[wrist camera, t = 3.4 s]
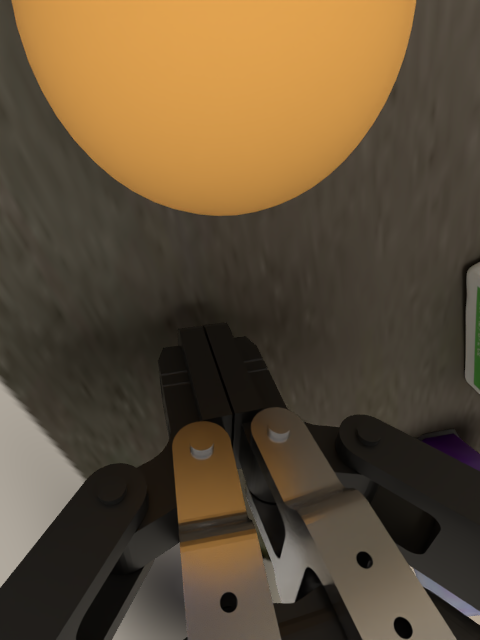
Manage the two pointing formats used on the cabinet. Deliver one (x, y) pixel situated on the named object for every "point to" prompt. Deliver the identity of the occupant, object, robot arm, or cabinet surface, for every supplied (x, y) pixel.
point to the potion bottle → (461, 451)
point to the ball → (216, 90)
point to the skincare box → (473, 327)
